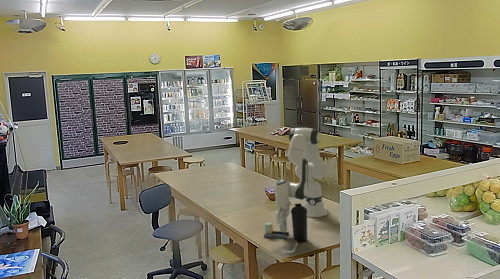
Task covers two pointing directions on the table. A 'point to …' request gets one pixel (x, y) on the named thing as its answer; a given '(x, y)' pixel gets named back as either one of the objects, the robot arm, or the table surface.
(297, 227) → the water bottle
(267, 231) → the green and orange block
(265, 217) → the table surface
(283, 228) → the pale green block
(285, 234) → the rail
